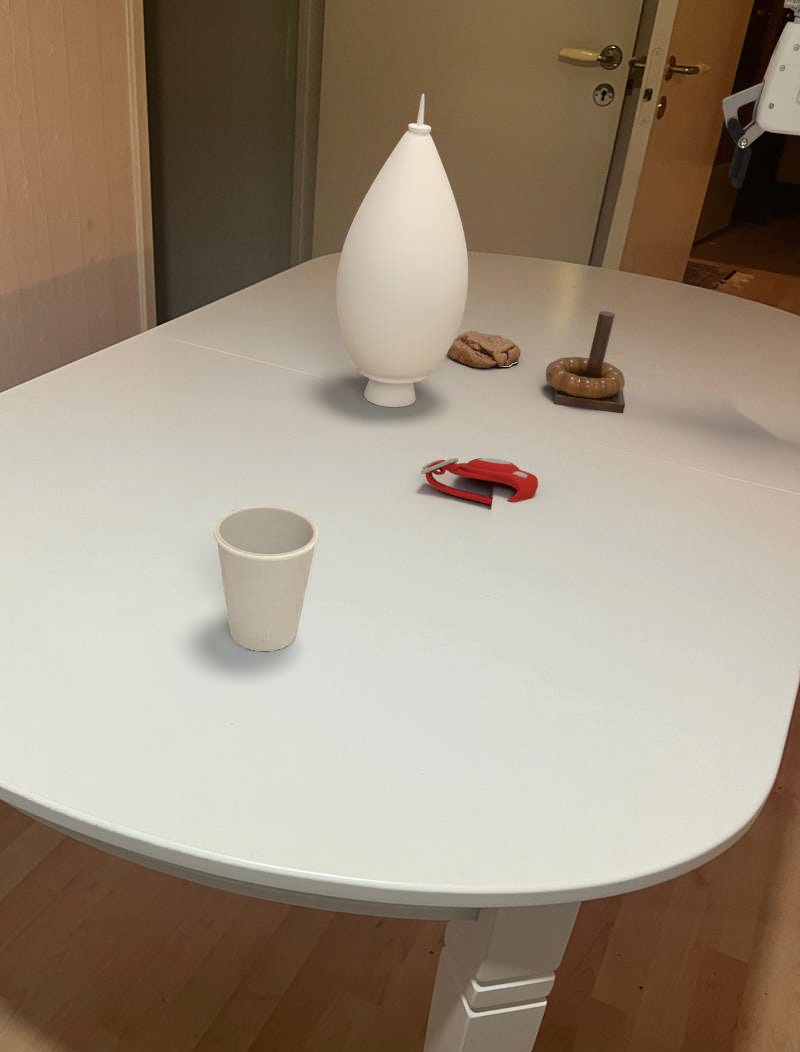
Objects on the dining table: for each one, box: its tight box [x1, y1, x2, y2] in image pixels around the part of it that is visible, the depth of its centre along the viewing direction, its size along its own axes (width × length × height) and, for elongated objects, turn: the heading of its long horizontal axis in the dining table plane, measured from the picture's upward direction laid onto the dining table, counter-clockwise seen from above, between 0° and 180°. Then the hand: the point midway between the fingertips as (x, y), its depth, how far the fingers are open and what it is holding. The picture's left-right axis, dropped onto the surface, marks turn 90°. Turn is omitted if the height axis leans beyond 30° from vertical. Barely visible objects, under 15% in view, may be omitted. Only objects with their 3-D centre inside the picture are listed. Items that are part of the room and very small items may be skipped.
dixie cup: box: [212, 504, 320, 652], centre depth 78 cm, size 8×8×10 cm
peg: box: [554, 310, 626, 414], centre depth 127 cm, size 9×9×11 cm
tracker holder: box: [420, 457, 539, 506], centre depth 104 cm, size 12×4×10 cm
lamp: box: [335, 93, 469, 408], centre depth 116 cm, size 16×16×35 cm
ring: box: [545, 356, 626, 399], centre depth 129 cm, size 10×10×3 cm
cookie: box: [447, 330, 522, 369], centre depth 140 cm, size 10×11×3 cm
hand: (779, 190), depth 108 cm, fingers open, 9 cm apart
